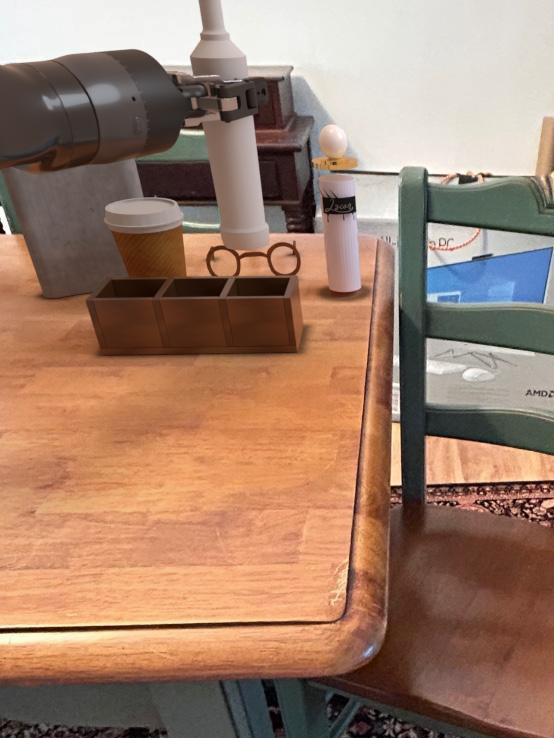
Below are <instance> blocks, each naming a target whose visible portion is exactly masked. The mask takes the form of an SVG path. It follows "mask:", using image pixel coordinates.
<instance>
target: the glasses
mask: <svg viewBox="0 0 554 738" xmlns="http://www.w3.org/2000/svg"><path fill="white" fill-rule="evenodd" d="M281 247H285V248H288V249H290V250H292V256H293V255H295V258H296V265H295V268H294V270H293V271H291V272H288V273H281V272H279V271H277V270H276V268H275V267H274V265H273V261H272V254H273V252H274V251H275V250H276V249H277V248H281ZM217 251H227V252H229V253H230V254H232V255H233V256H234V258H235V261H236V270H235V272H234V273H233V274H232V276H240V273H241V270H242V269H241V267H242V265H241V262H242V261H241V260H242V259H244V258H255V257H263V258H266V261H267V264H268V267H269V270H270V272H271V273H272V274H273V276H285V275H290V276H291V275H297V274H299V272H300V270H301V265H302V261H301V255H300V252H299V251H298V248H297V243H296V240H292V243H290V242H287V241H279V242H276V243H274V244H272V245H271V246H270V247H269V248H268V249H267V251H266V253H265V252H262V251H248V252H246V251H245V252H243V253H240V254H239V253H238V251H237V250H232V249H228V248H226V247H225V246H224V244H223V245H215V246H214V245H211V246H210V248H209V250H208V252H207V254H206V256H205V257H206V258H205V264H206V268H207V272H208V273H209V274H210V276H219V275H218V274H216V273H215V271H214V270H213V267H212V265H211V261H212V260H215V253H216V252H217Z"/></svg>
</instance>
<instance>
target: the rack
mask: <svg viewBox="0 0 554 738" xmlns="http://www.w3.org/2000/svg"><path fill="white" fill-rule="evenodd" d="M299 285H300V284H299V277H298V275H297V274H296V275H291V276H290V275H285V276H276V275H239V276H233V275H218V276H211V275H204V276H203V275H195V276H194V275H192V276H191V275H190V276H189V275H187V276H177V277H106V279H105V280H104V281H103V282H102V283H101V284H100V285H99V286H98V287H97V288H96V289H95V290H94V292H91V293H90V295H88V297H87V298H86V299H85V304H86V307H87V310H88V314H89V317H90V321H91V324H92V327H93V330H94V332H95V336H96V339H97V342H98V345H99V349H100V352H101V355H102V356H129V355H135V356H136V355H137V356H138V355H139V356H140V355H195V354H196V355H197V354H199V355H201V354H203V355H205V354H260V353H261V354H262V353H263V354H267V353H268V354H269V353H273V354H274V353H298V351H299V347H300V343H301V339H302V335H303V331H304V328H305V327H304V318H303V311H302V302H301V294H300V287H299Z"/></svg>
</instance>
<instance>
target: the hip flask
mask: <svg viewBox="0 0 554 738" xmlns="http://www.w3.org/2000/svg"><path fill="white" fill-rule="evenodd" d="M0 173H1V175H2V180H3V182H4V184H5V188H6V190H7V194H8V196H9V198H10V199H9V200H10V201H11V205H12V207H13V210H14V213H15V216H16V219H17V222H18V226H19V228H20V231H21V234H22V237H23V240H24V242H25V245H26V248H27V251H28V255H29V257H30V260H31V263H32V266H33V268H34V272H35V274H36V277H37V280H38V283H39V286H40V289H41V292H42V294H43V297H44V298H46V299H60V298H65V297H70V296H76V295H82V294H83V295H84V294H92V293H93V292H94V290H95V289H96V288H97V287H98V286H99V285H100V284H101V283H102V282H103V281H104V280H105V279H106V277H129V275H128V272H127V270H126V267H125V264H124V262H123V260H122V257H121V254H120V252H119V249H118V247H117V244H116V242H115V239H114V237H113V234H112V232H111V230H110V229H109V228H108V225H107V224H106V223H105V222H104V218H105V217H106V215H105V207H106V206H107V205H109V204H111V203H114V202H117V201H121V200H126V199H134V198H145V197H144V192H143V189H142V184H141V180H140V176H139V172H138V168H137V163H136V158H134V159H130V160H125V161H121V162H116V163H112V164H105V165H86V166H81V167H76V168H72V169H67V170H62V171H57V172H51V173H45V174H30V173H25V172H21V171H19V170H17V169H14V168H13V167H9V168H5V169H1V170H0Z"/></svg>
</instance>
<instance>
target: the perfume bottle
mask: <svg viewBox="0 0 554 738" xmlns="http://www.w3.org/2000/svg"><path fill="white" fill-rule="evenodd" d="M317 139H318V147H319V149H320V151H321V153H322V154H323V155H322V156H319V157H314V158H312V159H311V167H312V168H314V169H317V170H323V171H346V170H351V169H355V168H357V167H358V166H359V161H358V158H356V157H353V156H347V155H345V154H346V152H347V151H348V148H349V147H348V146H349V140H348V135H347V134H346V131H345V130H344V129H343V128H342V127H341V126H339V125H337V124H334V123H329V124H327V125H325V126H324V127H322V129H320V132H319V134H318V138H317ZM317 180H318V190H319V201H320V212H321V221H322V231H323V242H324V252H325V253H324V254H325V262H326V263H325V264H326V273H327V284H328V289H329V290H330V291H333V292H337V293H350V292H356V291H358V290H360V289H362V275H361V274H362V273H361V262H360V261H361V260H360V246H359V231H358V217H357V199H356V188H355V177H354V176H352V175H349V174H338V173H337V174H336V173H334V174H325V175H321V176H319V177H318V179H317Z"/></svg>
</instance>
